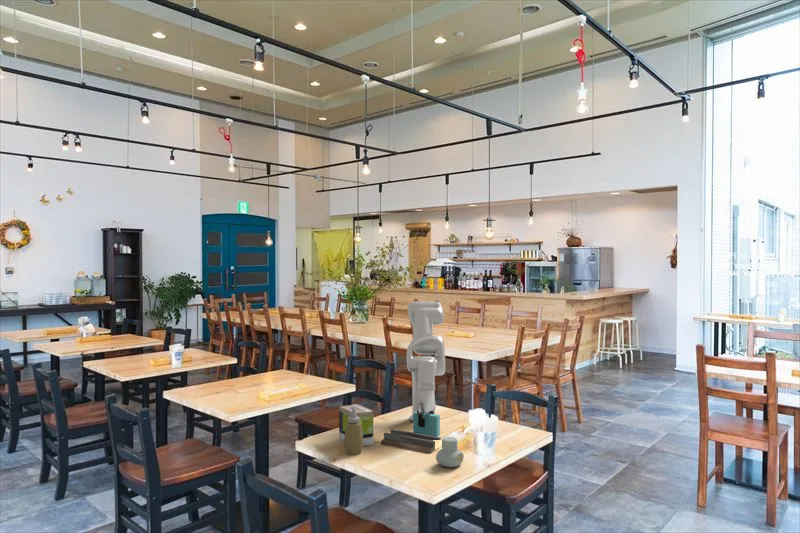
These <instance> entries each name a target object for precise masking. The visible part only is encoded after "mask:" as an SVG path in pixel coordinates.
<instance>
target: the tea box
mask: <svg viewBox="0 0 800 533" xmlns="http://www.w3.org/2000/svg"><path fill="white" fill-rule="evenodd" d="M338 408H339V410H338V413H339V414H338V416H339V417H338V439H339V440H340V441H342V442H343V443H344V438H345V428H346V424H347V423H348V418H349V417H351V413H352V409H353V408H355V410H356V414H357V417H359V418H360V420H359V422H360V423H361V424H362V433H363V447H366V446H372V445H374V415H375V414H374V412H375V411H374V410H372V409H370V408H368V407H366V406H363V405H361V404H359V403H357V404H351V405H350V404H349V405H348V404H347V405H341V406H339V407H338Z"/></svg>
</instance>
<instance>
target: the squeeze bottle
mask: <svg viewBox="0 0 800 533" xmlns="http://www.w3.org/2000/svg"><path fill="white" fill-rule="evenodd" d="M359 420H360V418H359V417H357V414H356V410H355V408H353V409H352V413H351V417H349V418H348V423H347V424H346V428H345V438H344V442H343V445H344V448H345V452H346V454H348V455H359V454H361V452H362V449H363V447H364V446H363V433H362V424H361V423H360V422H359Z"/></svg>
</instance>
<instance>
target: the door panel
mask: <svg viewBox="0 0 800 533" xmlns="http://www.w3.org/2000/svg"><path fill="white" fill-rule="evenodd" d="M422 415H423V413H422ZM440 415H441V414H436V413H434V414H430V413H426V414H425V417H424V418H425V427H419V426H418V415H417V412H414V413H413V421H412V433H418V434H424V435H430V436H435V437H438V436H440V435H441V433H440V432H441V431H440V430H441V427H440V426H441V421H440V420H441V418H440V417H441V416H440ZM440 437H441V436H440Z"/></svg>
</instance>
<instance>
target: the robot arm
mask: <svg viewBox="0 0 800 533" xmlns="http://www.w3.org/2000/svg"><path fill="white" fill-rule="evenodd" d="M407 315H408V318H409V322H410V324H411V326H412V340H411V341H410V342H409V344H408V346H407V349H406V368H407V370H408V372H410V373H411V378H412V379H411V380H412V382H411V383H412V388H411V390H412V391H411V392H412V394H411V395H412V400H411V401H412V403H411V405H412V408H411V409H412V414H410V415H409V418H408V420H410V421H411V422H413V413H414V412H417V415H418V426H419V427H425V418H424V417H425V414H426V413H430V414H436V405H437V402H436V394H435V390H436V383H435V382H436V379H435V377H436V376H437V377H438V376H439V377H440V376H444V374H445V373H446V350H445V341H444V338H443V337H442V336H439V335H433V326H435V325H442V324H443V323H444V320H445V318H444V317H445V315H444V308H443V306H442V304H441V302H439V301H437V300H435V301H433V300H432V301H431V300H430V301H427V300H424V301H423V300H416V301H412V302H409V303H408V305H407ZM413 352H414V353H415V354H417V356H416V355H415V356H413ZM419 355H420V356H419ZM422 355H423V356H422ZM425 355H426V356H425ZM430 355H432V356H430ZM433 355H434V356H433ZM422 413H423V415H422Z"/></svg>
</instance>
